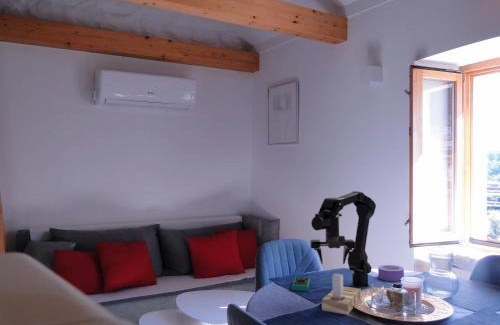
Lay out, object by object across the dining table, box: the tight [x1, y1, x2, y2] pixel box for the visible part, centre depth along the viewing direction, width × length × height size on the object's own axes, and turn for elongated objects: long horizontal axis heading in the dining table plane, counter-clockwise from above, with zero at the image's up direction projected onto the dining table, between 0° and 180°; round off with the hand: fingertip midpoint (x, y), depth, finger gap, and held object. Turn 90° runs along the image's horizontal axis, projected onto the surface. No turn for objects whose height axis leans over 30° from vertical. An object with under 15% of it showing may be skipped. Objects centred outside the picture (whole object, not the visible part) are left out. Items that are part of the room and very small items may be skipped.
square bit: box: [331, 273, 344, 301], centre depth 164 cm, size 3×3×13 cm
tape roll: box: [377, 264, 405, 282], centre depth 204 cm, size 12×12×5 cm
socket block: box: [321, 286, 362, 315], centre depth 168 cm, size 20×10×4 cm, turn 151°
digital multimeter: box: [291, 276, 311, 292], centre depth 193 cm, size 7×15×3 cm, turn 168°
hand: (332, 263), depth 181 cm, fingers open, 9 cm apart
